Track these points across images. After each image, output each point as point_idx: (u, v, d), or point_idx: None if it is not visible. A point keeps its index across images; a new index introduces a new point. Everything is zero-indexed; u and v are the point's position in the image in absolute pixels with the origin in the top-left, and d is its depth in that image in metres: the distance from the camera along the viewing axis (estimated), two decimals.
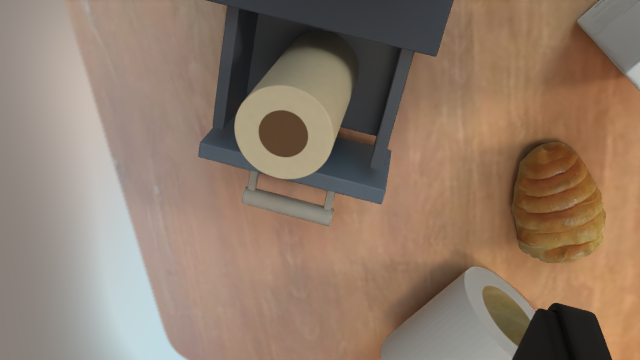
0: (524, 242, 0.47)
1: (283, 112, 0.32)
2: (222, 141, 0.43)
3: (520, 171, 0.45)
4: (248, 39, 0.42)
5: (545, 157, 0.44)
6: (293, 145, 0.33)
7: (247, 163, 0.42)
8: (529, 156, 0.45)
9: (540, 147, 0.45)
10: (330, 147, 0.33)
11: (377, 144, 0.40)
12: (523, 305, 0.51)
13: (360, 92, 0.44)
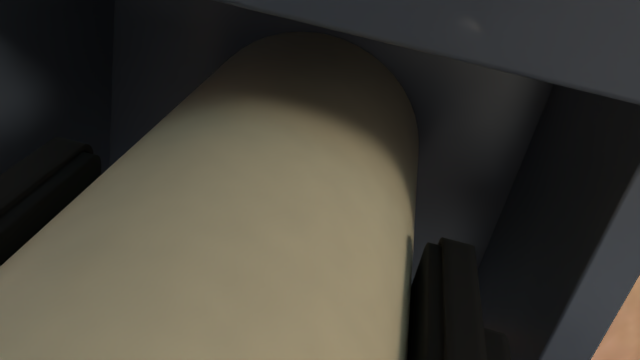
0: None
1: None
2: None
3: None
4: (73, 59, 0.13)
5: None
6: None
7: None
8: None
9: None
10: None
11: None
12: None
13: (420, 207, 0.15)
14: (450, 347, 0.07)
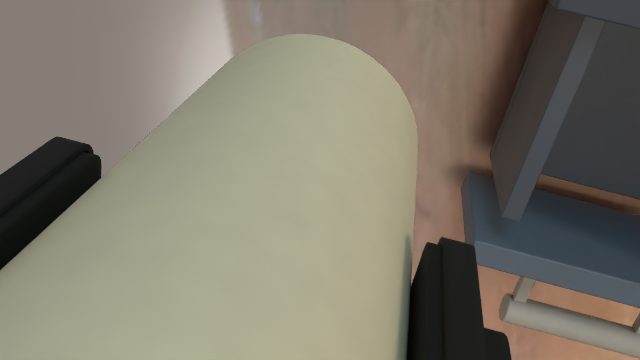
0: None
1: None
2: (504, 237, 0.26)
3: None
4: None
5: None
6: None
7: (551, 274, 0.26)
8: None
9: None
10: None
11: None
12: None
13: None
14: (450, 347, 0.07)
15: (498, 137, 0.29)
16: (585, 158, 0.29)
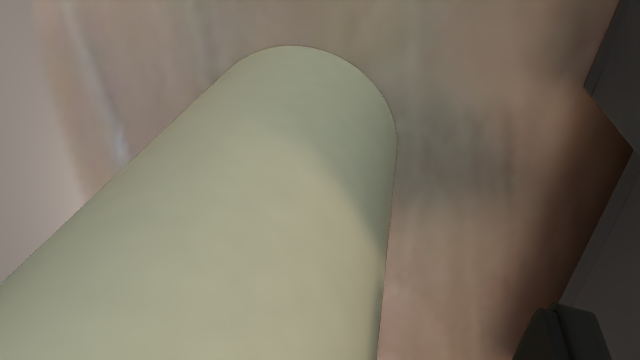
0: None
1: None
2: None
3: None
4: None
5: None
6: None
7: None
8: None
9: None
10: None
11: None
12: None
13: None
14: None
15: None
16: None
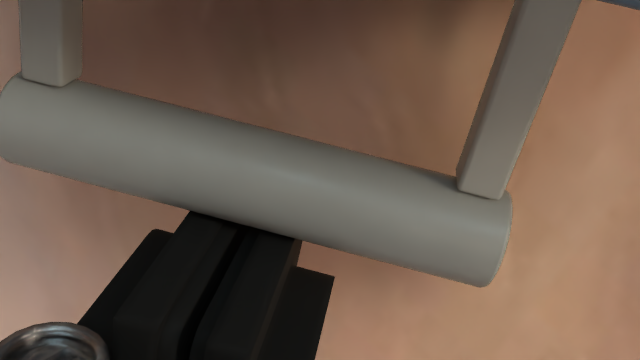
0: None
1: None
2: None
3: None
4: None
5: None
6: None
7: None
8: None
9: None
10: None
11: None
12: None
13: None
14: (243, 276, 0.08)
15: None
16: None
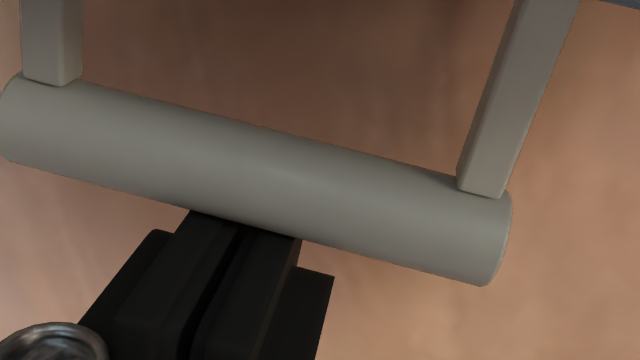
0: None
1: None
2: None
3: None
4: None
5: None
6: None
7: None
8: None
9: None
10: None
11: None
12: None
13: None
14: (243, 277, 0.08)
15: None
16: None
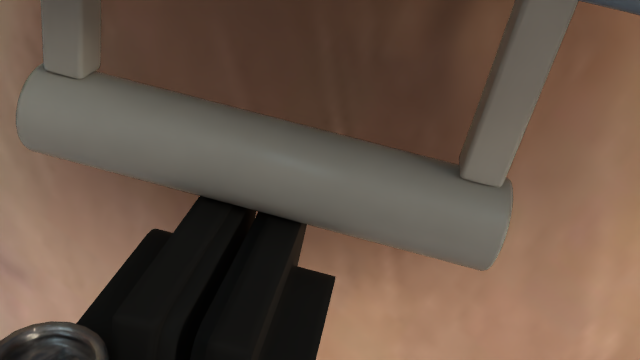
0: None
1: None
2: None
3: None
4: None
5: None
6: None
7: None
8: None
9: None
10: None
11: None
12: None
13: None
14: (244, 277, 0.08)
15: None
16: None
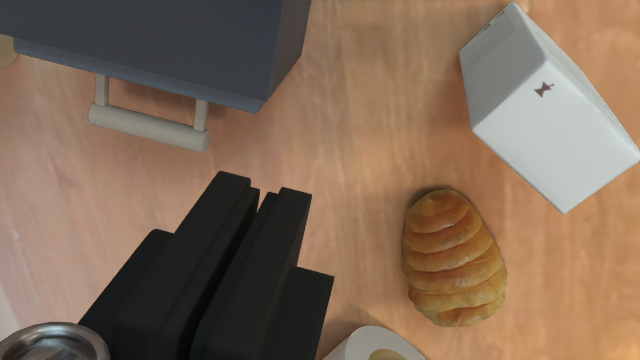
0: (414, 302, 0.41)
1: None
2: None
3: (406, 222, 0.39)
4: None
5: (432, 208, 0.38)
6: None
7: (77, 59, 0.31)
8: (414, 206, 0.39)
9: (427, 196, 0.38)
10: None
11: None
12: None
13: None
14: (243, 277, 0.08)
15: None
16: None
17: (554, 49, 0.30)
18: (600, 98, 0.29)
